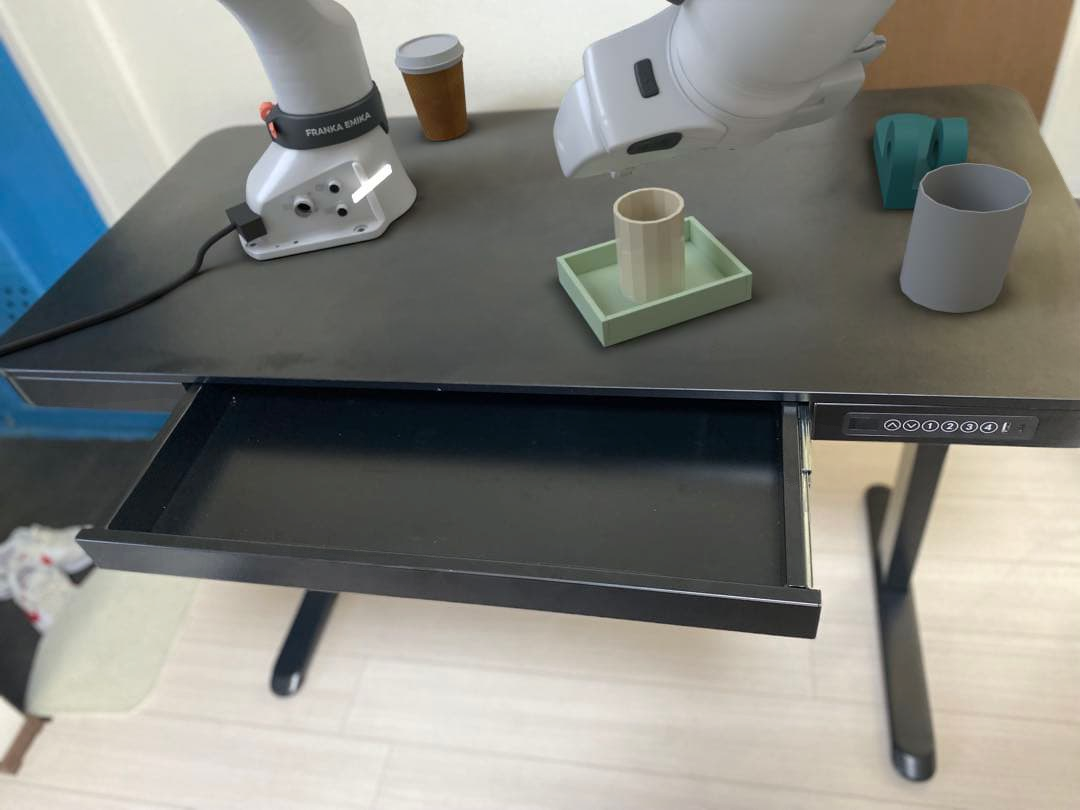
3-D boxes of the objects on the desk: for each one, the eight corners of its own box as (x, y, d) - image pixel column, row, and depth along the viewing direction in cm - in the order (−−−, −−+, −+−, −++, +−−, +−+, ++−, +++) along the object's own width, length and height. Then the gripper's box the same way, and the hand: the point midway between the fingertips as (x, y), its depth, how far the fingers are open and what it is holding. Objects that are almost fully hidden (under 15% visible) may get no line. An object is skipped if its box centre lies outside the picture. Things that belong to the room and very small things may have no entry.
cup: (1008, 313, 69) (1041, 212, 62) (906, 312, 71) (928, 213, 64) (989, 259, 75) (1018, 161, 68) (895, 259, 77) (914, 164, 70)
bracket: (954, 208, 82) (972, 135, 77) (884, 209, 84) (897, 138, 78) (931, 130, 95) (945, 63, 89) (870, 132, 96) (880, 67, 91)
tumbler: (635, 312, 76) (630, 230, 70) (609, 279, 80) (602, 199, 74) (696, 293, 77) (696, 210, 71) (667, 261, 81) (664, 181, 75)
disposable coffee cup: (415, 122, 117) (394, 39, 109) (479, 112, 117) (462, 27, 109) (411, 151, 110) (389, 63, 102) (479, 140, 110) (461, 51, 102)
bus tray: (604, 347, 73) (601, 321, 71) (559, 281, 82) (556, 257, 80) (751, 299, 76) (752, 273, 74) (692, 240, 84) (692, 215, 82)
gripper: (885, -22, 47) (794, 83, 61) (558, 51, 46) (539, 142, 59) (914, 79, 47) (815, 161, 61) (586, 155, 45) (561, 223, 59)
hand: (677, 152), depth 60 cm, fingers open, 8 cm apart
